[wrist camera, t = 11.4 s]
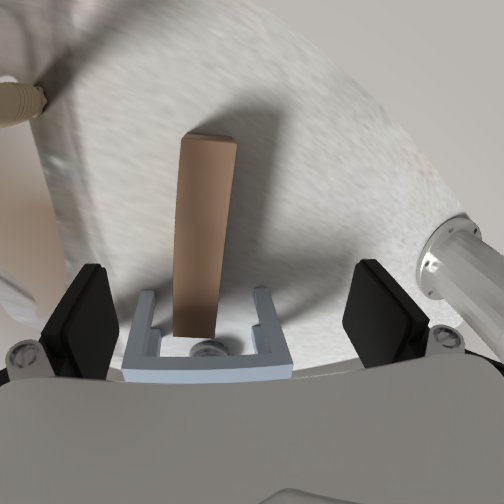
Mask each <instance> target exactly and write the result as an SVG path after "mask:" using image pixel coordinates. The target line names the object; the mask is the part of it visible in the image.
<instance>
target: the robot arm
mask: <svg viewBox="0 0 504 504" xmlns="http://www.w3.org/2000/svg"><path fill="white" fill-rule="evenodd" d="M417 284H418V286H419V289H420V290H421V292H422V293H423V294H424V295H425V296H426V297H427V298H430V299H432V300H441V299H445V300H446V301H447V302H448V303H449V304H450V305H451V307H452V308H453V309H454V310H455V311H456V312H457V313H458V314H459V315H460V316H461V317H462V318H463V319H464V320H465V321H466V322H467V323H468V324H469V326H470V327H471V328H472V329H473V330H474V331H475V332H476V333H477V334H478V335H479V337H481V339H482V340H483V341H484V342H485V343H486V344H487V346H488V347H489V348H490V349H491V350H492V351H493V352H494V353H495V355H496V356H497V357H498V358H499V359H500V361H501V362H502V363H503V364H502V363H500V362H497V361H495V360H492V359H489V358H487V357H484V356H482V355H479V354H476V353H474V352H471V351H469V350H466V349H465V342H464V338H463V337H462V335H461V334H460V333H459V332H458V331H457V330H455V329H454V328H452V327H449V326H446V325H435V326H433V327H432V328H431V329H430V328H429V327H428V324H429V321H430V319H429V318H428V317H427V316H426V314H425V313H424V312H423V311H422V310H421V309H420V307H419V306H418V305H417V304H416V303H415V302H414V301H413V299H412V298H411V297H410V296H409V295H408V294H407V293H406V292H405V290H404V289H403V288H402V287H401V286H400V285H399V284H398V283H397V282H396V280H395V279H394V278H393V277H392V276H391V275H390V274H389V273H388V272H387V271H386V270H385V269H384V267H383V266H382V265H381V264H380V263H379V262H378V261H377V260H376V259H362V260H360V262H359V263H357V264H356V266H355V270H354V274H353V278H352V283H351V287H350V291H349V295H348V299H347V303H346V307H345V311H344V315H343V320H342V324H343V328H344V330H345V331H346V333H347V335H348V337H349V339H350V341H351V343H352V344H353V346H354V348H355V350H356V352H357V354H358V356H359V358H360V359H361V361H362V363H363V365H364V367H365V369H359V370H352V371H346V372H340V373H332V374H325V375H318V376H308V377H300V378H290V379H279V380H267V381H252V382H234V383H197V384H174V383H140V382H123V381H109V380H105V379H106V376H107V372H108V369H109V365H110V362H111V358H112V355H113V352H114V349H115V345H116V342H117V339H118V336H119V324H118V320H117V316H116V312H115V308H114V304H113V300H112V295H111V291H110V286H109V282H108V277H107V272H106V269H105V268H104V267H101V265H100V264H85V265H84V266H83V267H82V269H81V270H80V272H79V273H78V275H77V276H76V277H75V279H74V280H73V282H72V284H71V285H70V287H69V288H68V290H67V291H66V293H65V294H64V296H63V297H62V299H61V301H60V302H59V304H58V305H57V307H56V309H55V310H54V312H53V314H52V315H51V317H50V319H49V320H48V322H47V324H46V325H45V327H44V329H43V331H42V332H41V337H40V339H39V341H38V342H37V341H35V340H24V341H20V342H18V343H17V344H15V345H14V346H13V347H12V348H10V350H9V351H8V353H7V355H6V359H5V360H6V368H5V369H3V370H1V371H0V504H504V256H503V255H501V254H500V253H499V252H497V251H496V250H494V249H493V248H492V247H490V246H489V245H487V244H486V243H484V242H483V241H482V237H481V232H480V230H479V227H478V226H477V225H476V224H475V223H474V222H473V221H471V220H469V219H467V218H464V217H458V218H454V219H451V220H449V221H447V222H446V223H445V224H443V225H442V226H441V227H440V228H439V229H437V230H436V231H435V233H434V234H433V235H432V236H431V238H430V239H429V241H428V242H427V244H426V245H425V247H424V249H423V251H422V254H421V256H420V259H419V262H418V267H417Z"/></svg>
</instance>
